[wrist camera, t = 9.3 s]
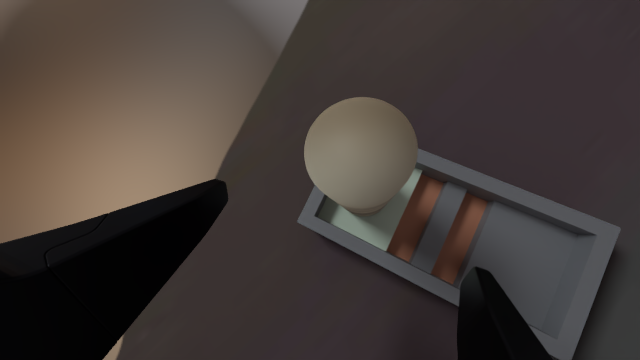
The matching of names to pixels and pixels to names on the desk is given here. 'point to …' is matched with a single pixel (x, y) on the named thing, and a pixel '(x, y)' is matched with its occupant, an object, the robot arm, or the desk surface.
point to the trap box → (481, 244)
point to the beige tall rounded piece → (361, 153)
